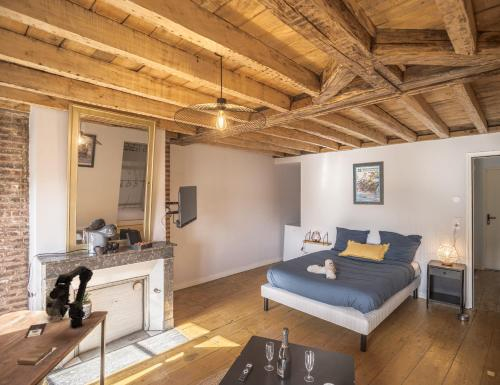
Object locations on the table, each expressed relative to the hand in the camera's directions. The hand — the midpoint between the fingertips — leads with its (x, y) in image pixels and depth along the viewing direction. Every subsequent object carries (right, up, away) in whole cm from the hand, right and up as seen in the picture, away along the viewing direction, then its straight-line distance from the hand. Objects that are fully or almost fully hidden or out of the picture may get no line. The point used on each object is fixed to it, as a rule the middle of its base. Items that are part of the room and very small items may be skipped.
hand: (62, 317), depth 185 cm
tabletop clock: (-22, -12, +24) cm, 35 cm away
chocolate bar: (-23, -13, +7) cm, 27 cm away
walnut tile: (0, -11, -16) cm, 20 cm away
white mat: (0, -13, -22) cm, 25 cm away
